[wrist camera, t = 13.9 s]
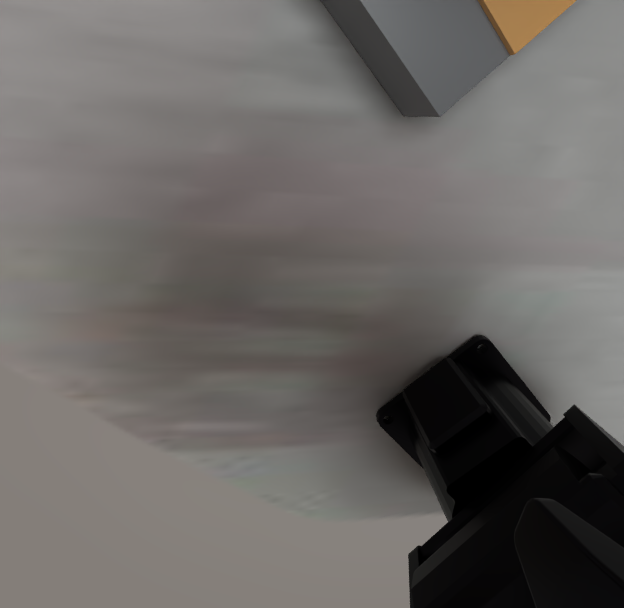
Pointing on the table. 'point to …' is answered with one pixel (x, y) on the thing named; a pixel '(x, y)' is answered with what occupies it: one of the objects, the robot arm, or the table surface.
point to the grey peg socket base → (438, 43)
